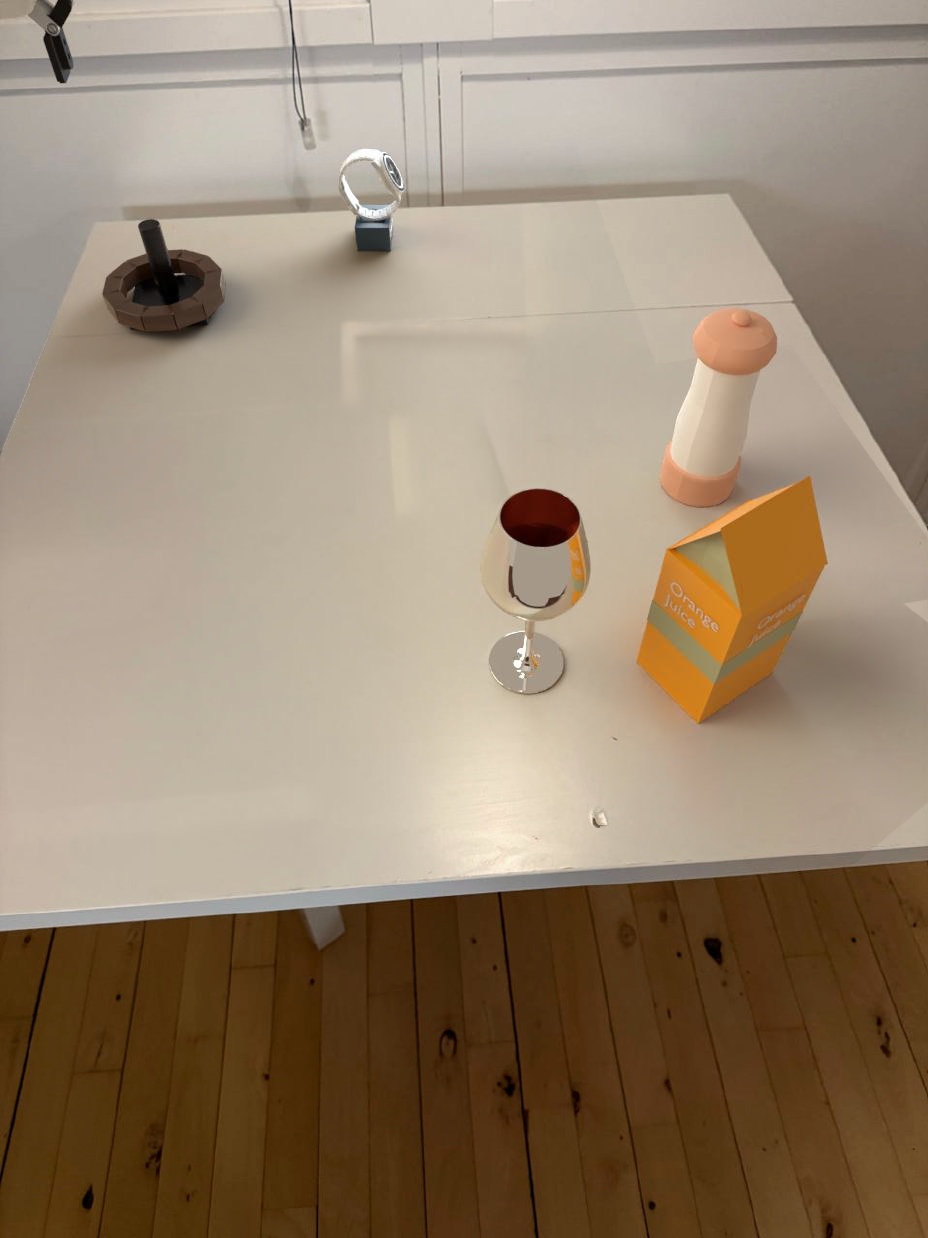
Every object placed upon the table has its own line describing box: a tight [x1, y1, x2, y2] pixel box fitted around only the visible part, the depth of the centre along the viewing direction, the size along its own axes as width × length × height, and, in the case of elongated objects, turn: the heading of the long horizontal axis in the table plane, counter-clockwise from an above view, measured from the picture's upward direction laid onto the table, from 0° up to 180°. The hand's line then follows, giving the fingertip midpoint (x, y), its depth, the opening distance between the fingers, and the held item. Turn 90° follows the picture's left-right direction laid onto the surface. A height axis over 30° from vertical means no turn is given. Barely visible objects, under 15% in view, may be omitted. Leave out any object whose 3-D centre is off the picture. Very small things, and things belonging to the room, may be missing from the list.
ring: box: [101, 248, 227, 333], centre depth 107 cm, size 14×14×2 cm
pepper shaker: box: [659, 307, 778, 508], centre depth 82 cm, size 7×7×19 cm
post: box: [129, 218, 210, 331], centre depth 104 cm, size 9×9×10 cm
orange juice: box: [636, 474, 828, 725], centre depth 68 cm, size 8×9×20 cm
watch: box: [338, 148, 405, 252], centre depth 113 cm, size 6×8×11 cm
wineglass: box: [479, 487, 592, 695], centre depth 70 cm, size 8×8×18 cm
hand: (13, 79), depth 86 cm, fingers open, 9 cm apart
